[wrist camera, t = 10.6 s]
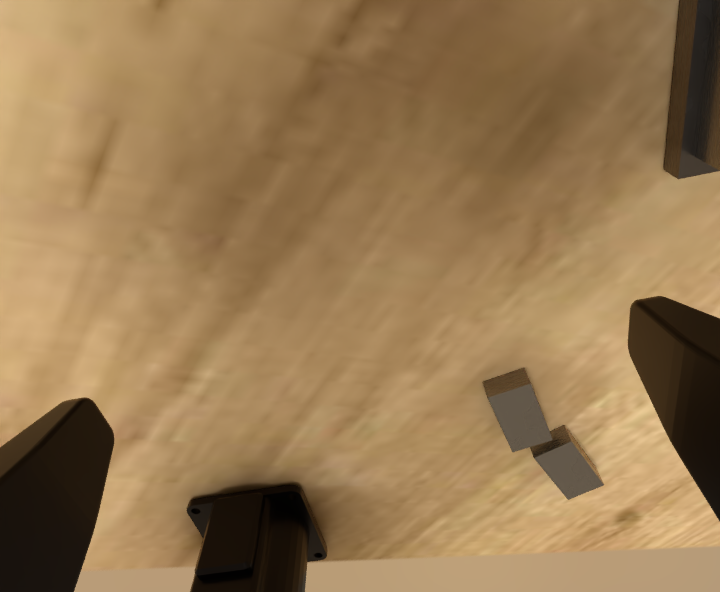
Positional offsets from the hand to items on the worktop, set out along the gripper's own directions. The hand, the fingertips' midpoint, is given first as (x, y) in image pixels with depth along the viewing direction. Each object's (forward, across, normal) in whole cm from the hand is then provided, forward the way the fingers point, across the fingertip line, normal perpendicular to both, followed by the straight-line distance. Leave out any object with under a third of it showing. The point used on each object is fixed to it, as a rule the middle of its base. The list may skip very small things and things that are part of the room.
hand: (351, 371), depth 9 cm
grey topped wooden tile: (+12, -5, +14) cm, 19 cm away
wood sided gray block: (+12, -7, +18) cm, 23 cm away
